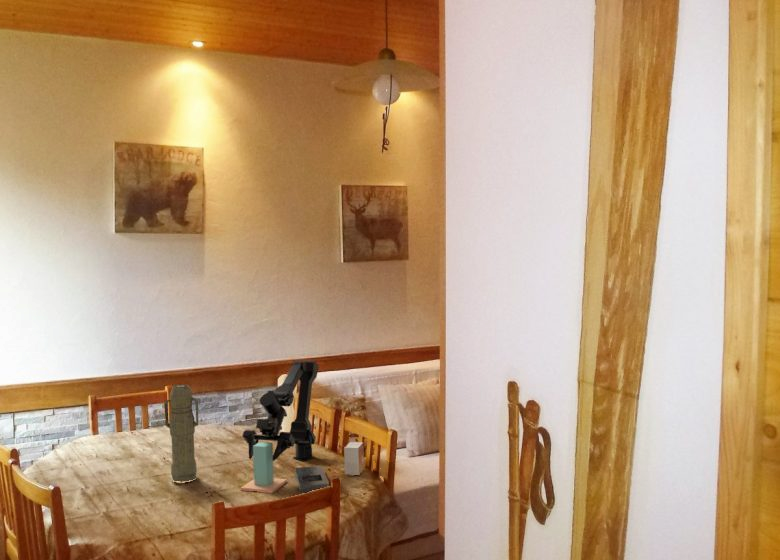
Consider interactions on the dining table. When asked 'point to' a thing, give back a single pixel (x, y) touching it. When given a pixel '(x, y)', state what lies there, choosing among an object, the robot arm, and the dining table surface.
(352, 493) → the dining table surface
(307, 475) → the grey slotted board
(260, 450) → the peg
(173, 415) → the thermos
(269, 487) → the tile
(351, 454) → the small box
